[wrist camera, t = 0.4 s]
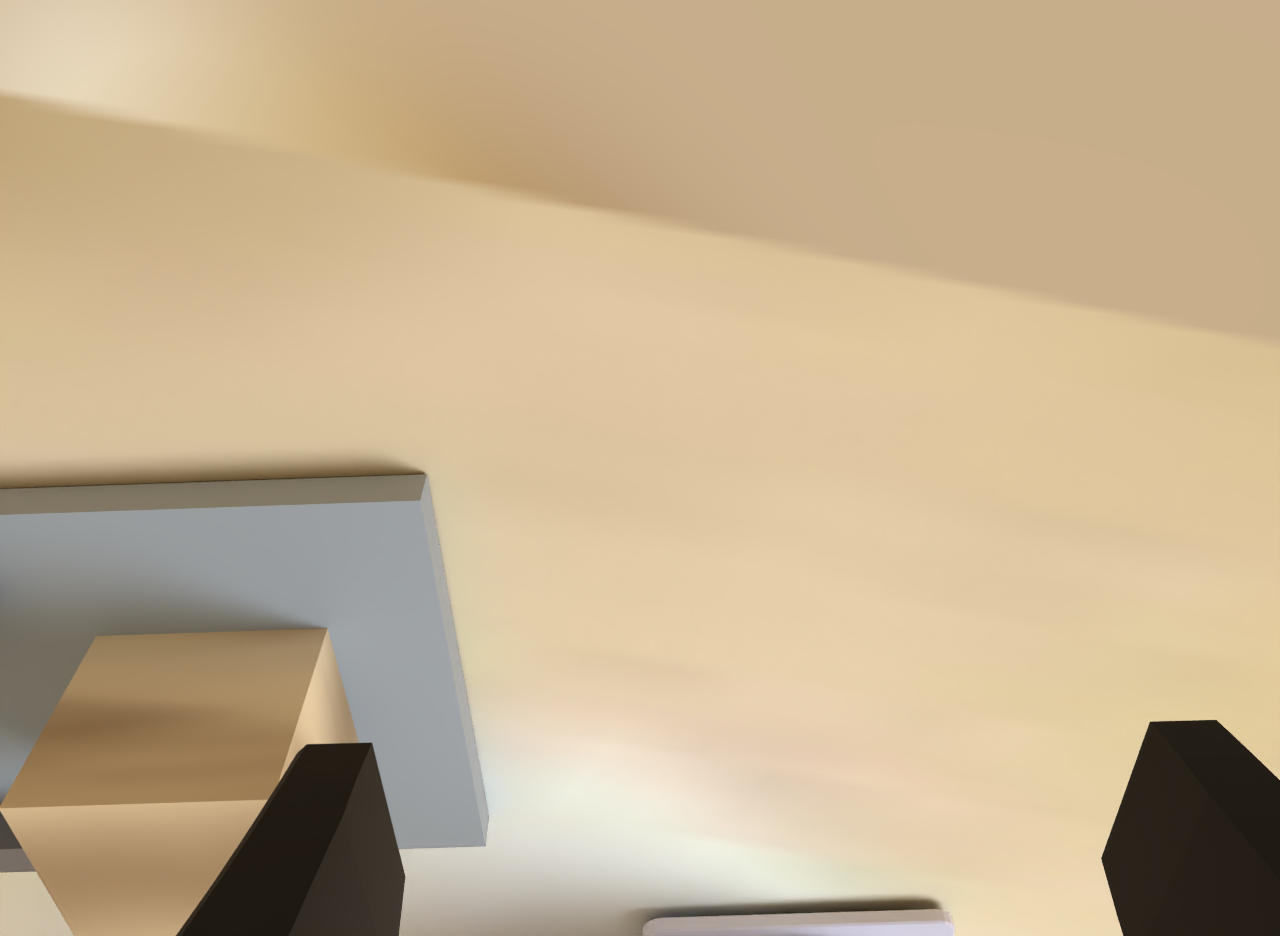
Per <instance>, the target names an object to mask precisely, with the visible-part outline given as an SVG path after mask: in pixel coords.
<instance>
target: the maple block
mask: <svg viewBox="0 0 1280 936" xmlns="http://www.w3.org/2000/svg"><path fill="white" fill-rule="evenodd" d="M333 743H359V741H358V737H357V734H356V730H355V726H354V723H353V719H352V715H351V712H350V708H349V705H348V701H347V697H346V694H345V690H344V686H343V683H342V679H341V675H340V672H339V668H338V664H337V661H336V657H335V653H334V650H333V646H332V643H331V639H330V635H329V632H328V628H320V629H290V630H260V631H230V632H201V633H171V634H141V635H111V636H96V637H95V639H94V641H93V642H92V644H91V646H90V648H89V649H88V651H87V653H86V655H85V657H84V658H83V660H82V662H81V664H80V665H79V667H78V669H77V671H76V672H75V674H74V676H73V678H72V680H71V681H70V683H69V685H68V687H67V688H66V690H65V692H64V694H63V696H62V697H61V699H60V701H59V703H58V704H57V706H56V708H55V710H54V711H53V713H52V715H51V717H50V719H49V720H48V722H47V724H46V726H45V727H44V729H43V731H42V733H41V734H40V736H39V738H38V740H37V742H36V743H35V745H34V747H33V749H32V750H31V752H30V754H29V756H28V757H27V759H26V761H25V763H24V765H23V766H22V768H21V770H20V772H19V773H18V775H17V777H16V779H15V781H14V782H13V784H12V786H11V788H10V789H9V791H8V793H7V795H6V796H5V798H4V800H3V802H2V804H1V805H0V811H1V813H2V815H3V816H4V818H5V820H6V821H7V823H8V825H9V826H10V828H11V830H12V832H13V833H14V835H15V837H16V838H17V840H18V842H19V843H20V845H21V847H22V848H23V850H24V852H25V853H26V855H27V857H28V858H29V860H30V862H31V863H32V865H33V867H34V869H35V870H36V872H37V874H38V875H39V877H40V879H41V880H42V882H43V884H44V885H45V887H46V889H47V890H48V892H49V894H50V895H51V897H52V899H53V900H54V902H55V904H56V906H57V907H58V909H59V911H60V912H61V914H62V916H63V917H64V919H65V921H66V922H67V924H68V926H69V927H70V929H71V931H72V932H73V934H74V936H176V935H177V933H178V932H179V931H180V929H181V928H182V926H183V925H184V924H185V922H186V921H187V919H188V918H189V916H190V915H191V914H192V912H193V911H194V909H195V908H196V907H197V905H198V904H199V902H200V901H201V900H202V898H203V897H204V895H205V894H206V893H207V891H208V890H209V888H210V887H211V885H212V884H213V882H214V881H215V879H216V878H217V876H218V875H219V873H220V872H221V870H222V869H223V868H224V866H225V865H226V863H227V862H228V860H229V859H230V857H231V856H232V854H233V853H234V851H235V850H236V848H237V847H238V845H239V844H240V842H241V841H242V839H243V838H244V836H245V835H246V833H247V831H248V830H249V828H250V827H251V825H252V824H253V822H254V821H255V819H256V818H257V816H258V815H259V813H260V811H261V810H262V808H263V807H264V805H265V804H266V802H267V800H268V799H269V797H270V796H271V794H272V793H273V791H274V789H275V788H276V786H277V785H278V783H279V781H280V780H281V778H282V777H283V775H284V773H285V772H286V770H287V769H288V767H289V765H290V764H291V762H292V760H293V759H294V757H295V756H296V754H297V753H298V752H299V751H300V750H301V749H302V748H303V747H304V746H305V745H307V744H333Z"/></svg>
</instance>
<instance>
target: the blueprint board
mask: <svg viewBox="0 0 1280 936" xmlns="http://www.w3.org/2000/svg"><path fill="white" fill-rule="evenodd" d="M320 628H328V632H329V635H330V639H331V643H332V646H333V650H334V653H335V657H336V661H337V664H338V668H339V672H340V675H341V679H342V683H343V686H344V690H345V694H346V697H347V701H348V705H349V708H350V712H351V715H352V719H353V723H354V726H355V730H356V734H357V737H358V741H359V743H370V742H372V744H373V748H374V752H375V756H376V760H377V764H378V768H379V772H380V776H381V781H382V785H383V789H384V793H385V797H386V801H387V805H388V809H389V813H390V817H391V821H392V825H393V829H394V833H395V837H396V841H397V845H398V849H413V848H444V847H475V846H486V837H487V829H488V820H489V815H488V809H487V804H486V798H485V793H484V787H483V782H482V776H481V770H480V765H479V759H478V754H477V748H476V743H475V737H474V732H473V726H472V721H471V715H470V710H469V704H468V699H467V693H466V688H465V682H464V676H463V671H462V665H461V660H460V654H459V649H458V643H457V638H456V632H455V627H454V621H453V616H452V610H451V605H450V599H449V594H448V588H447V582H446V577H445V571H444V566H443V560H442V555H441V549H440V544H439V538H438V533H437V527H436V522H435V516H434V511H433V505H432V500H431V494H430V488H429V483H428V477H427V474H419V475H391V476H362V477H333V478H304V479H275V480H246V481H217V482H189V483H160V484H131V485H102V486H73V487H44V488H15V489H0V805H1V804H2V802H3V800H4V798H5V796H6V795H7V793H8V791H9V789H10V788H11V786H12V784H13V782H14V781H15V779H16V777H17V775H18V773H19V772H20V770H21V768H22V766H23V765H24V763H25V761H26V759H27V757H28V756H29V754H30V752H31V750H32V749H33V747H34V745H35V743H36V742H37V740H38V738H39V736H40V734H41V733H42V731H43V729H44V727H45V726H46V724H47V722H48V720H49V719H50V717H51V715H52V713H53V711H54V710H55V708H56V706H57V704H58V703H59V701H60V699H61V697H62V696H63V694H64V692H65V690H66V688H67V687H68V685H69V683H70V681H71V680H72V678H73V676H74V674H75V672H76V671H77V669H78V667H79V665H80V664H81V662H82V660H83V658H84V657H85V655H86V653H87V651H88V649H89V648H90V646H91V644H92V642H93V641H94V639H95V637H96V636H111V635H141V634H171V633H201V632H230V631H260V630H290V629H320ZM30 871H36V870H35V869H34V867H33V865H32V863H31V862H30V860H29V858H28V857H27V855H26V853H25V852H24V850H23V848H22V847H21V845H20V843H19V842H18V840H17V838H16V837H15V835H14V833H13V832H12V830H11V828H10V826H9V825H8V823H7V821H6V820H5V818H4V816H3V815H2V813H1V811H0V872H30Z"/></svg>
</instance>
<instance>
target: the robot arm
mask: <svg viewBox="0 0 1280 936" xmlns="http://www.w3.org/2000/svg"><path fill="white" fill-rule="evenodd" d="M1101 859H1102V863H1103V866H1104V870H1105V873H1106V877H1107V881H1108V884H1109V888H1110V891H1111V895H1112V898H1113V902H1114V906H1115V909H1116V913H1117V916H1118V920H1119V923H1120V926H1121V929H1122V932H1123V936H1280V780H1279V779H1278V778H1277V777H1276V776H1275V775H1274V774H1273V773H1272V772H1271V771H1270V770H1269V769H1268V768H1267V767H1265V766H1264V765H1263V764H1262V763H1261V762H1260V761H1259V760H1258V759H1257V758H1256V757H1255V756H1254V755H1253V754H1252V753H1251V752H1250V751H1249V750H1248V749H1247V748H1246V747H1245V746H1244V745H1242V744H1241V743H1240V742H1239V741H1238V740H1237V739H1236V738H1235V737H1234V736H1233V735H1232V734H1231V733H1230V732H1229V731H1228V730H1227V729H1225V728H1224V727H1223V726H1222V725H1221V724H1220V723H1219V722H1218V721H1217V720H1198V721H1160V722H1150V723H1149V726H1148V729H1147V732H1146V735H1145V737H1144V740H1143V743H1142V746H1141V749H1140V751H1139V754H1138V757H1137V760H1136V763H1135V765H1134V768H1133V771H1132V774H1131V777H1130V779H1129V782H1128V785H1127V788H1126V791H1125V793H1124V796H1123V799H1122V802H1121V805H1120V807H1119V810H1118V813H1117V816H1116V819H1115V822H1114V824H1113V827H1112V830H1111V833H1110V836H1109V838H1108V841H1107V844H1106V847H1105V850H1104V852H1103V855H1102V858H1101ZM404 883H405V874H404V870H403V866H402V862H401V858H400V854H399V849H398V845H397V841H396V837H395V833H394V829H393V825H392V821H391V817H390V813H389V809H388V805H387V801H386V797H385V793H384V789H383V785H382V781H381V776H380V772H379V768H378V764H377V760H376V756H375V752H374V748H373V744H372V742H370V743H333V744H307V745H305V746H304V747H303V748H302V749H301V750H300V751H299V752H298V753H297V754H296V756H295V757H294V759H293V760H292V762H291V764H290V765H289V767H288V769H287V770H286V772H285V773H284V775H283V777H282V778H281V780H280V781H279V783H278V785H277V786H276V788H275V789H274V791H273V793H272V794H271V796H270V797H269V799H268V800H267V802H266V804H265V805H264V807H263V808H262V810H261V811H260V813H259V815H258V816H257V818H256V819H255V821H254V822H253V824H252V825H251V827H250V828H249V830H248V831H247V833H246V835H245V836H244V838H243V839H242V841H241V842H240V844H239V845H238V847H237V848H236V850H235V851H234V853H233V854H232V856H231V857H230V859H229V860H228V862H227V863H226V865H225V866H224V868H223V869H222V870H221V872H220V873H219V875H218V876H217V878H216V879H215V881H214V882H213V884H212V885H211V887H210V888H209V890H208V891H207V893H206V894H205V895H204V897H203V898H202V900H201V901H200V902H199V904H198V905H197V907H196V908H195V909H194V911H193V912H192V914H191V915H190V916H189V918H188V919H187V921H186V922H185V924H184V925H183V926H182V928H181V929H180V931H179V932H178V933H177V935H176V936H399V927H400V918H401V910H402V901H403V892H404ZM954 933H955V927H954V923H953V919H952V916H951V915H950V914H949V913H948V912H946V911H943V910H940V909H921V910H889V911H857V912H825V913H793V914H762V915H730V916H698V917H666V918H656V919H653V920H650V921H649V922H647V923H646V924H645V925H644V927H643V936H954Z"/></svg>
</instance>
